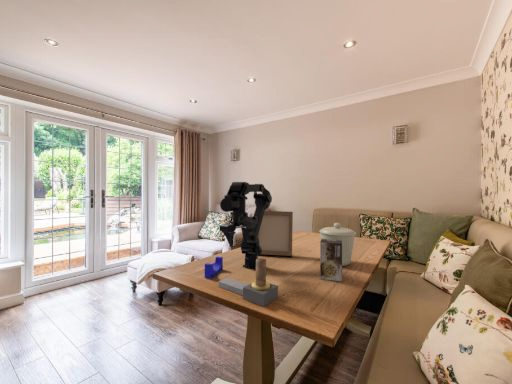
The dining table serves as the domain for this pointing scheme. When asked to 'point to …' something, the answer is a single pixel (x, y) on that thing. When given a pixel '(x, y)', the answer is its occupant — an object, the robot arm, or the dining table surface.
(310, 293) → the dining table surface
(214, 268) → the blue arched block
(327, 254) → the coffee box
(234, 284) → the hitch block
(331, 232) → the canister
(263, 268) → the walnut pin
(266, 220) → the photo frame
